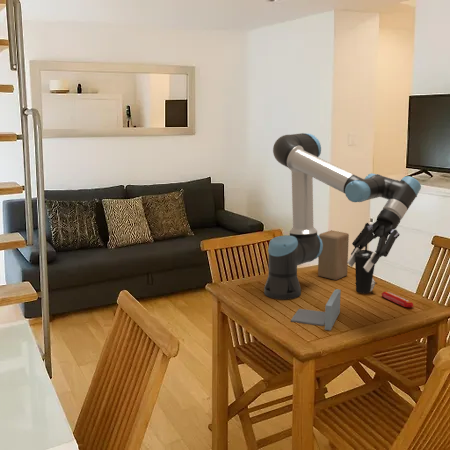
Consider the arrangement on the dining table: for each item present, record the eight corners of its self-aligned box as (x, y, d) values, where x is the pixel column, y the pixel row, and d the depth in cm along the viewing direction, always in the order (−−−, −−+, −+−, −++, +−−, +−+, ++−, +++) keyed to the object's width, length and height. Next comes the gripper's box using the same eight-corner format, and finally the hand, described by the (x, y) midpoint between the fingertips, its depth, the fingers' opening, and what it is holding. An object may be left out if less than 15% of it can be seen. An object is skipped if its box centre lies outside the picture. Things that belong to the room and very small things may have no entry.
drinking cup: (370, 296, 191) (374, 240, 186) (348, 292, 195) (352, 237, 190) (377, 289, 197) (381, 235, 192) (356, 285, 201) (359, 232, 196)
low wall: (324, 329, 195) (325, 305, 193) (334, 311, 211) (335, 289, 209) (330, 330, 194) (331, 306, 192) (339, 312, 211) (340, 289, 209)
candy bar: (415, 308, 214) (415, 301, 213) (407, 310, 212) (408, 303, 212) (386, 296, 228) (386, 289, 227) (379, 297, 227) (379, 290, 226)
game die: (367, 299, 234) (380, 279, 235) (370, 299, 226) (383, 278, 227) (349, 287, 236) (361, 267, 236) (351, 287, 227) (364, 266, 228)
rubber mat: (290, 321, 202) (290, 320, 202) (298, 310, 213) (298, 308, 213) (323, 326, 198) (323, 324, 198) (330, 314, 209) (330, 312, 209)
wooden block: (348, 275, 254) (349, 232, 249) (336, 281, 247) (337, 237, 242) (329, 271, 260) (330, 229, 256) (317, 276, 253) (318, 233, 249)
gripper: (419, 226, 192) (385, 280, 186) (374, 216, 207) (341, 266, 202) (410, 213, 187) (375, 268, 182) (365, 204, 203) (331, 254, 198)
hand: (357, 267), depth 192 cm, fingers closed on drinking cup, 7 cm apart
